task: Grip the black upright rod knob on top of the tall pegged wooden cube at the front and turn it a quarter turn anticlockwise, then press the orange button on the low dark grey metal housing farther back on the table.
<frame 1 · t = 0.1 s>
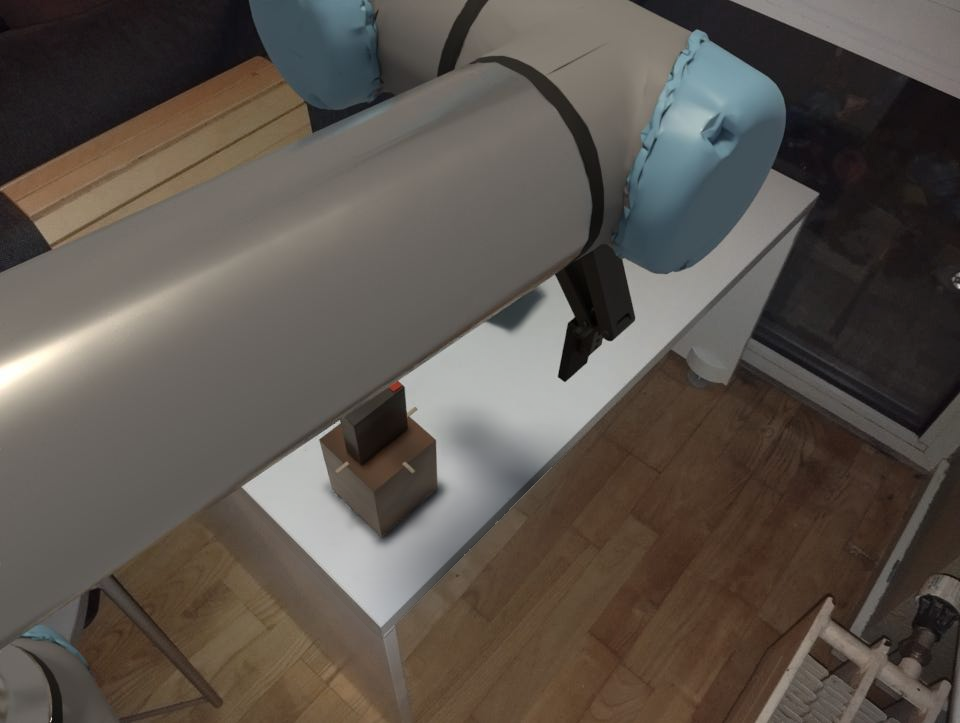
hand: (508, 322, 63), 26 cm above the table, tool pointing down, fingers open, 13 cm apart
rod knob: (374, 419, 71), point 14 cm above the table, hinge at 0.0°
bowl: (570, 219, 109), on the table
button: (313, 261, 98), point 3 cm above the table, slide at 0.1 cm
sage hexagonal prism: (461, 284, 101), on the table
button box: (316, 276, 100), on the table
pegged wooden cube: (384, 488, 82), on the table
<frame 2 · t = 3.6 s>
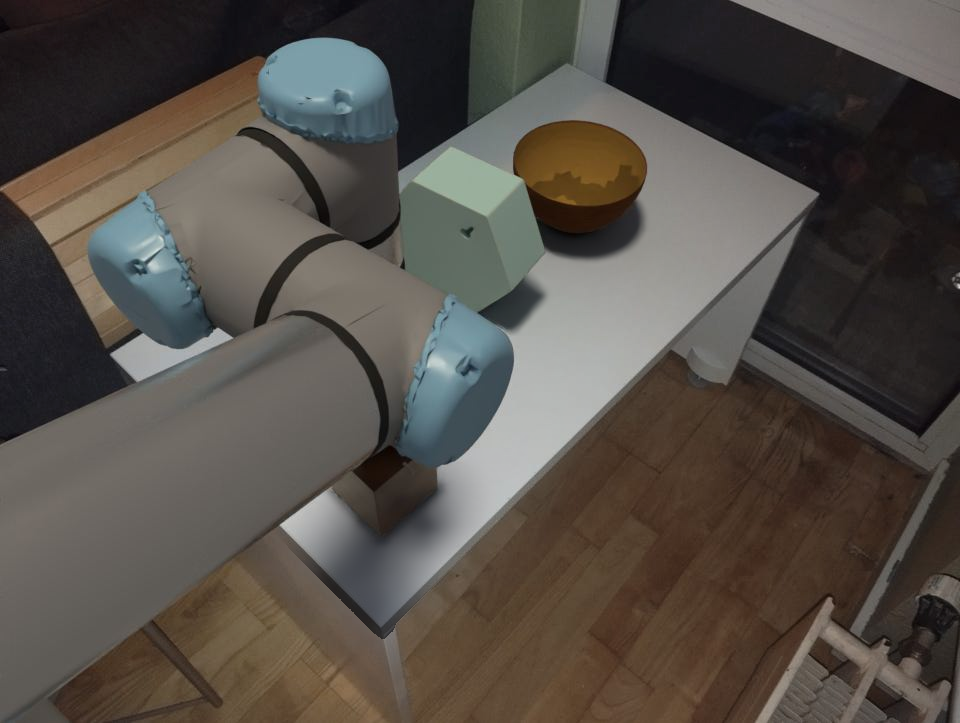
hand: (376, 434, 73), 11 cm above the table, tool pointing down, fingers closed on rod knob, 2 cm apart
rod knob: (374, 419, 71), point 14 cm above the table, hinge at -0.1°, touching gripper
everything else where it was.
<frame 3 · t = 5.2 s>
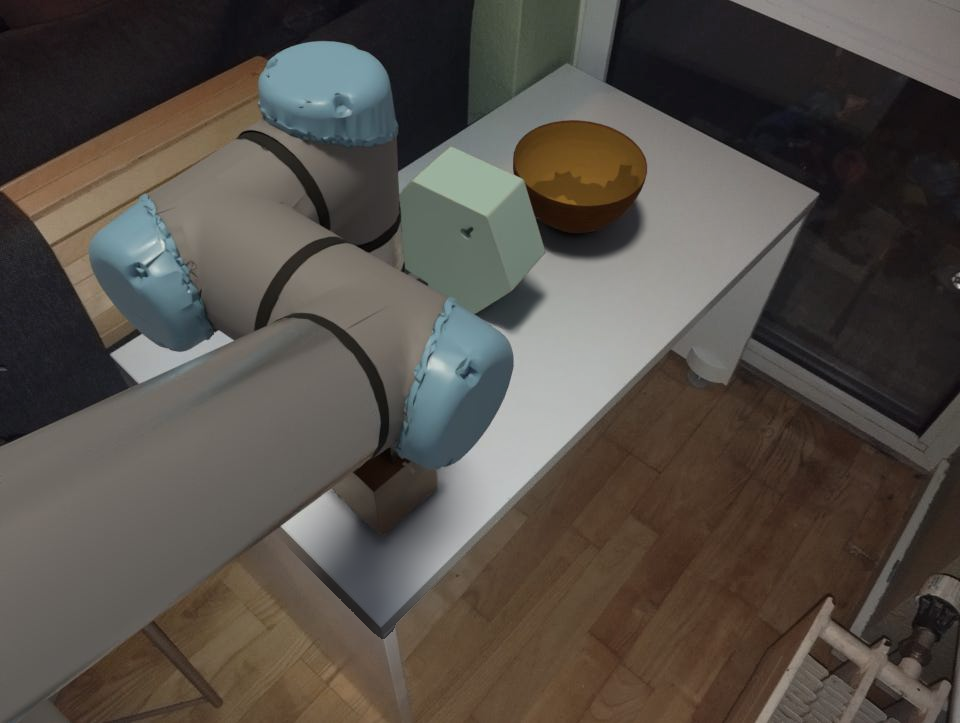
hand: (376, 434, 73), 11 cm above the table, tool pointing down, fingers open, 4 cm apart
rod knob: (374, 419, 71), point 14 cm above the table, hinge at 95.0°
everything else where it was.
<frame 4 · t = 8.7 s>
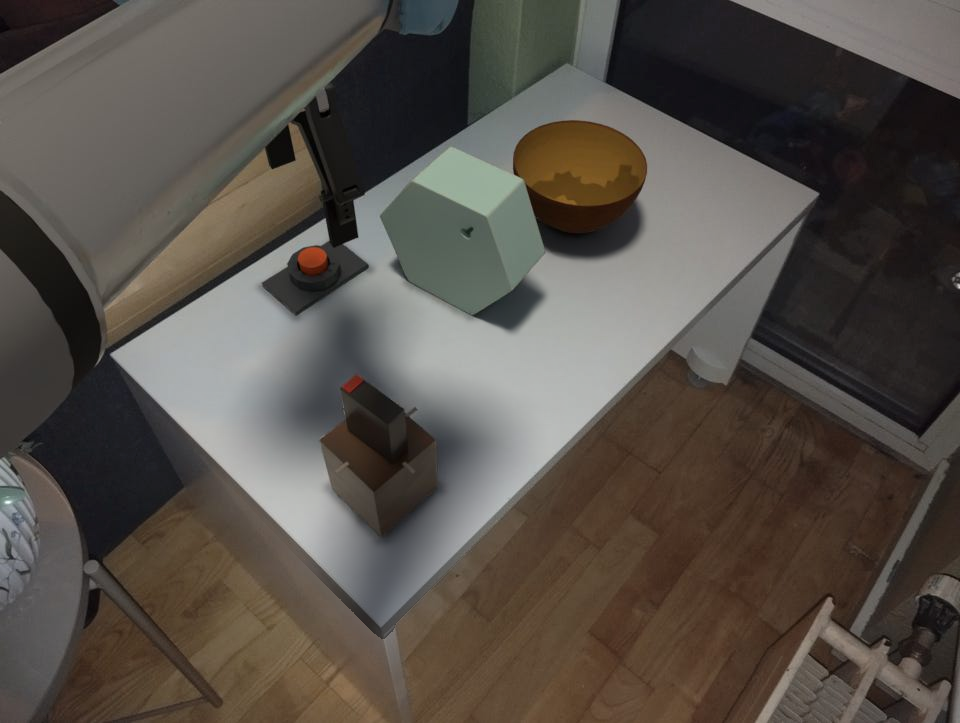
hand: (312, 200, 77), 22 cm above the table, tool pointing down, fingers open, 13 cm apart
nothing on the table moved.
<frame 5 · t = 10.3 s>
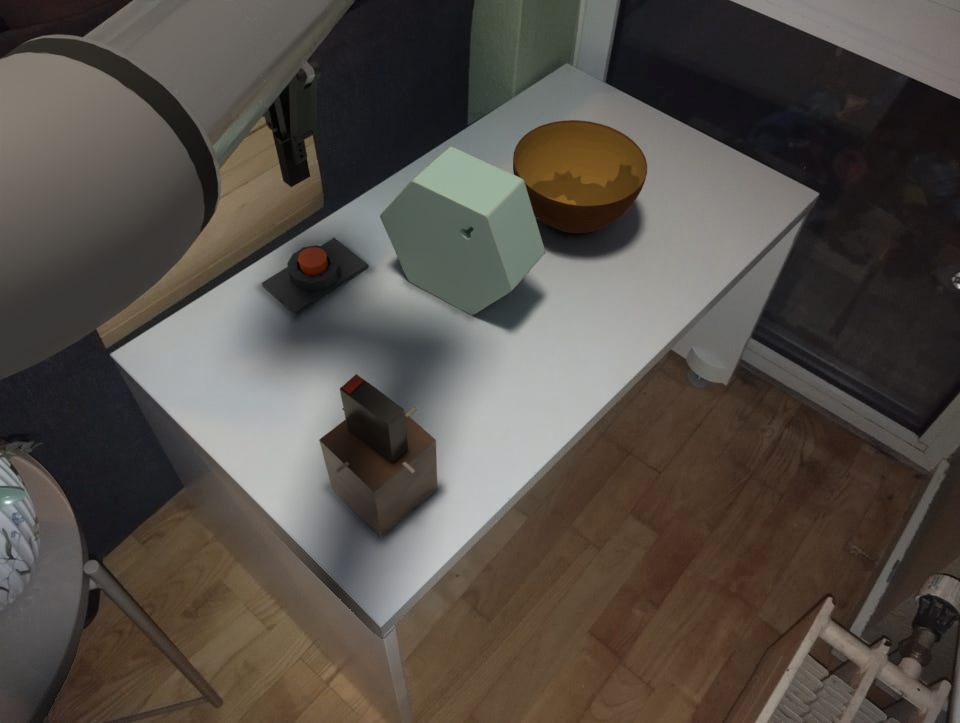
hand: (296, 178, 87), 16 cm above the table, tool pointing down, fingers closed
nothing on the table moved.
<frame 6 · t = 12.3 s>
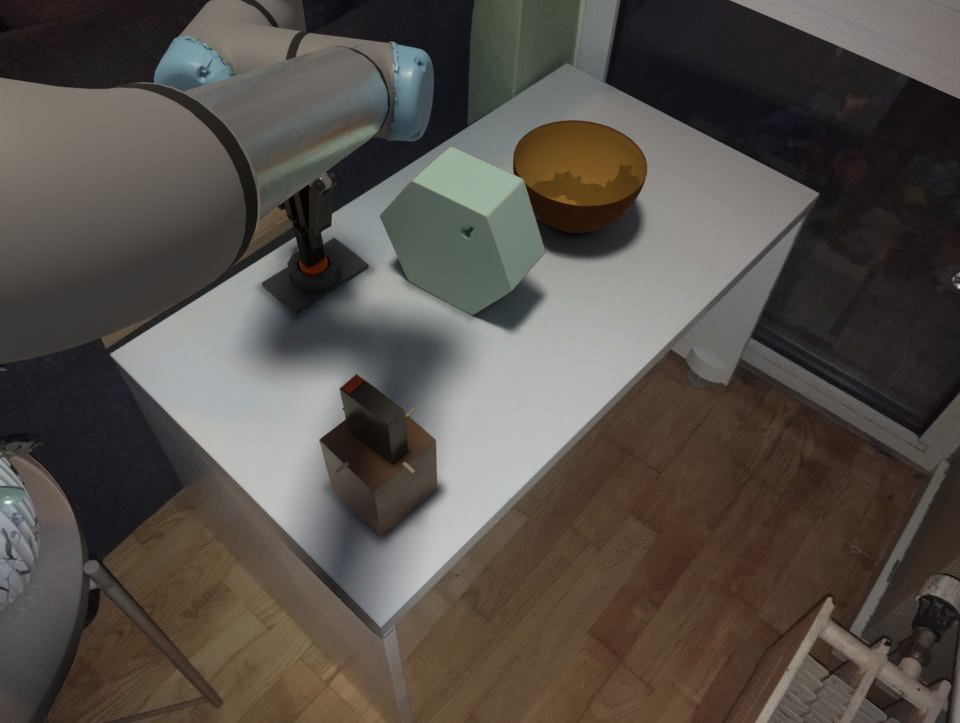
hand: (313, 259, 98), 3 cm above the table, tool pointing down, fingers closed
button: (314, 266, 99), point 2 cm above the table, slide at -0.8 cm, touching gripper
everything else where it was.
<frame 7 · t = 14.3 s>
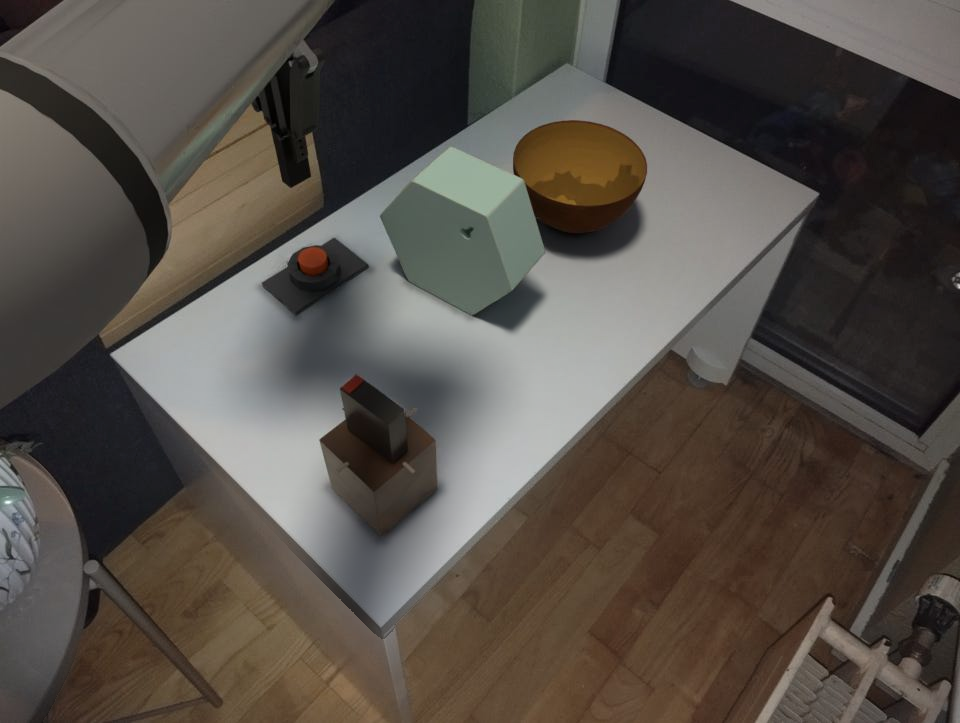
hand: (296, 178, 81), 20 cm above the table, tool pointing down, fingers closed
button: (313, 261, 98), point 3 cm above the table, slide at 0.1 cm
everything else where it was.
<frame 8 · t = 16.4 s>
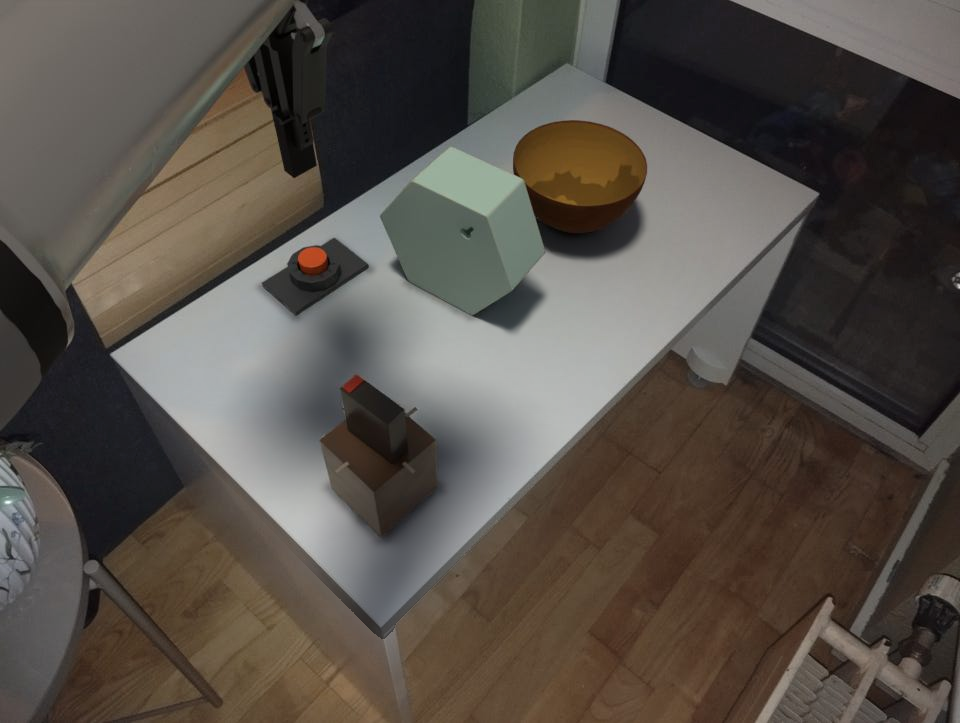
hand: (300, 168, 73), 26 cm above the table, tool pointing down, fingers closed
nothing on the table moved.
at the end: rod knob at +95° (first picture: +0°); button pushed in 1.0 cm at the most during the clip, back to where it started at the end; button slide at 0.1 cm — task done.
